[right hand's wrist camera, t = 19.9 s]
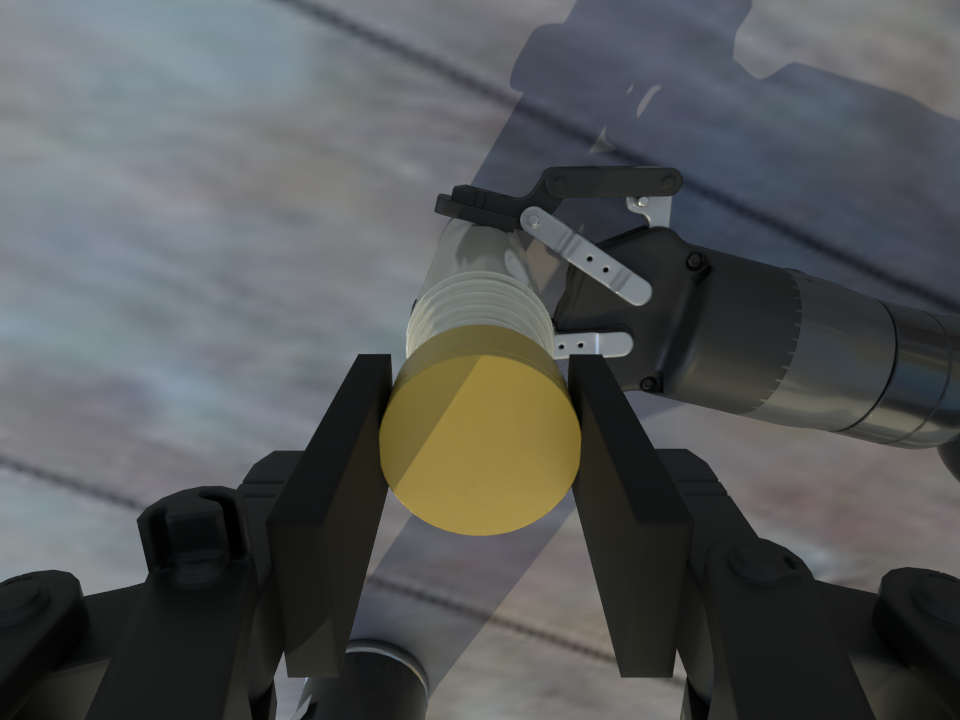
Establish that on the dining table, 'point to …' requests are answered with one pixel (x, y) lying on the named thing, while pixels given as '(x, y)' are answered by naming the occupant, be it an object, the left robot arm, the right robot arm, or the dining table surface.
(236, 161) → the dining table surface
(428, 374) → the cap
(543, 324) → the bottle
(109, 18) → the dining table surface
